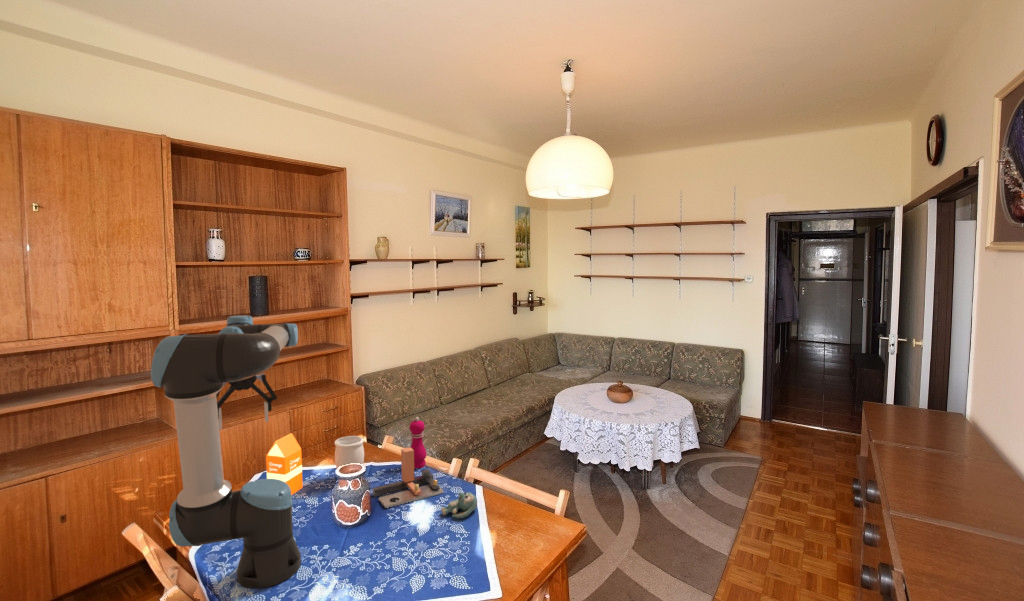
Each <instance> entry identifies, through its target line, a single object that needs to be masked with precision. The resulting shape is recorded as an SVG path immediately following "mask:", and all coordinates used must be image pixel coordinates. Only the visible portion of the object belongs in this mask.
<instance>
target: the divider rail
mask: <svg viewBox="0 0 1024 601" xmlns="http://www.w3.org/2000/svg"><path fill="white" fill-rule="evenodd" d="M410 482H413V483H414V484H419V485H420V486H423V485H422V484H424V485H426V484H425V483H428V484H427V485H430V486H431V487H432V488H433V489H434V490H435V489H438V488H439V486H440V485H439V484H438V479H436V478H434V475H433V473H431V470H430V469H428V468H426V469H421V475H419V476H414V481H410ZM407 483H409V482H406V483H405V482H404V481H403V480H400V481H399V480H398V481H397V482H390V483H387V484H383V485H380V486H376V487H373V488H372V496H373V497H374V498H377V497H381V496H385V495H388V494H387V493H389V494H392V493H391V492H393V493H396V492H395V491H397V492H400V491H399V490H401V491H404V490H408V489H409V488H408V486H407ZM407 488H408V489H407ZM403 489H404V490H403ZM384 494H385V495H384ZM380 495H381V496H380ZM376 496H377V497H376Z"/></svg>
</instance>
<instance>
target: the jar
mask: <svg viewBox="0 0 1024 601" xmlns="http://www.w3.org/2000/svg"><path fill="white" fill-rule="evenodd" d="M364 442H365V439H364V437H363V436H360V435H359V436H358V435H349V436H348V435H347V436H343V437H339V438H337V439H336V440H335V441H334V446H335V452H334V462H335V467H336V469H337V468H338V467H339V466H342V465H346V464H350V463H360V464H363V465H364V461H365V448H364Z"/></svg>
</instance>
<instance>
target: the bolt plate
mask: <svg viewBox="0 0 1024 601" xmlns="http://www.w3.org/2000/svg"><path fill="white" fill-rule="evenodd" d="M419 489H420V490H421V494H419V495H415V494H414V493H413V492H412V491H411V490H410V489H405V490H401V491H397V492H393V493H389V494H386V495H382V496H378V502H381V503H380V504H381V506H382V507H383V506H384V507H385V508H387V509H390V508H389V507H391V508H394V507H393V506H395V507H398V506H401V505H400V504H402V505H405V504H404V503H406V504H409V503H412V501H413V502H417V501H419V500H423V499H427V498H430V497H434V496H438V495H442V494H444V489H443V488H441V486H440V485H439V488H438V489H435V490H434V489H433V488H432V487H431V486H430V485H429V484H424V485H420V486H419ZM441 493H442V494H441ZM408 502H409V503H408ZM397 505H398V506H397ZM384 507H383V508H384ZM385 508H384V509H385Z"/></svg>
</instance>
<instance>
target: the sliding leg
mask: <svg viewBox="0 0 1024 601" xmlns="http://www.w3.org/2000/svg"><path fill="white" fill-rule="evenodd" d="M400 452H401V453H400V454H401V456H400V458H401V459H400V461H401V462H400V464H401V481H404V482H405V483H406V482H409V483H407V486H408V490H411V491H412V492H413V493H414V494H415V495H419V494H421V490H420V489H419V487H420V486H419V484H414V483H413V482H410V481H414V478H415V469H414V450H413V449H412V448H411V446H410V447H405V448H401V449H400Z"/></svg>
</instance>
